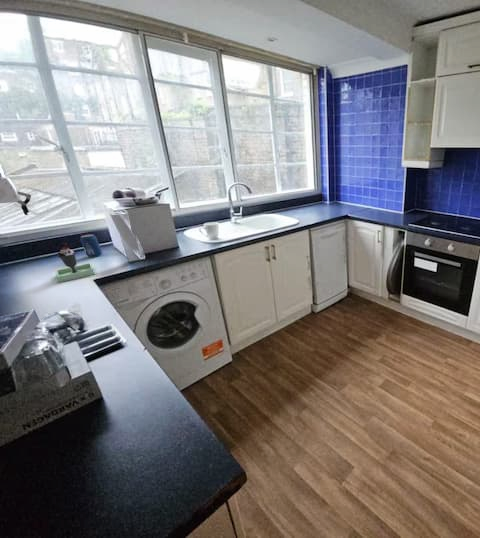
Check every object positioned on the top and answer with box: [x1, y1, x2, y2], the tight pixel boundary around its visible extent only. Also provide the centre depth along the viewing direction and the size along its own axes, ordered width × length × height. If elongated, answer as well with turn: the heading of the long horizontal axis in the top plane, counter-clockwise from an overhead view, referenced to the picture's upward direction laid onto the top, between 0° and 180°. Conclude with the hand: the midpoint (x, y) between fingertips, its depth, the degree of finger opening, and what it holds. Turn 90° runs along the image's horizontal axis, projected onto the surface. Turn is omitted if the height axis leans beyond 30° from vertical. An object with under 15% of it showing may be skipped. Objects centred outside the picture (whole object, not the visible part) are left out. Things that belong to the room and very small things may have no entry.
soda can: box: [80, 233, 103, 258], centre depth 167 cm, size 7×7×12 cm
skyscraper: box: [109, 208, 146, 263], centre depth 156 cm, size 8×8×28 cm
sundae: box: [57, 243, 81, 274], centre depth 141 cm, size 7×7×15 cm
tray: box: [55, 262, 95, 283], centre depth 143 cm, size 13×12×3 cm
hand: (10, 216), depth 127 cm, fingers open, 9 cm apart
